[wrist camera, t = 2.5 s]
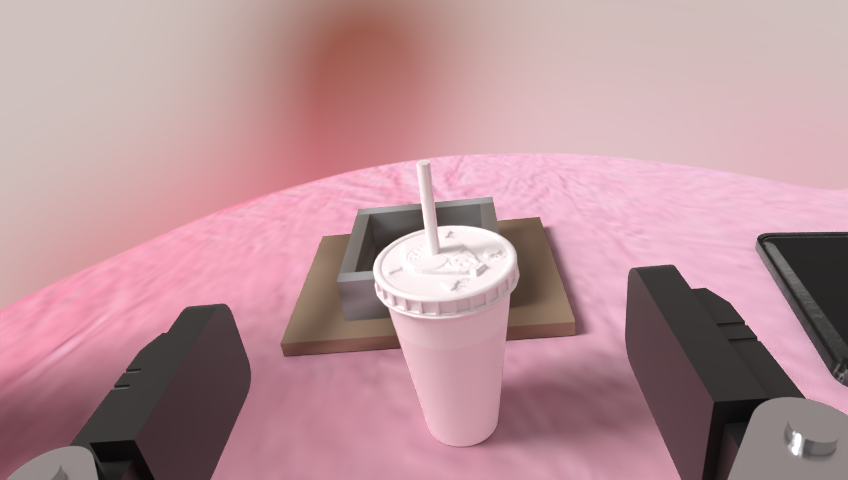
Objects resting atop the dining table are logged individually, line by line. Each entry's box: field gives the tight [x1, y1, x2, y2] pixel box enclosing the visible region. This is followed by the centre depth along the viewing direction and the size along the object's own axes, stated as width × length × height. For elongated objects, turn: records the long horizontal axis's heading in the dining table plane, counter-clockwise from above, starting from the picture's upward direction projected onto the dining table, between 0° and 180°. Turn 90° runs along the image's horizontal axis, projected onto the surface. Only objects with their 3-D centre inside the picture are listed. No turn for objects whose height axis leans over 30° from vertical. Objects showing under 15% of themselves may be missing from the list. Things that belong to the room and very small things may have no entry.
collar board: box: [281, 197, 576, 356], centre depth 40 cm, size 18×14×4 cm
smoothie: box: [373, 160, 520, 447], centre depth 26 cm, size 6×6×14 cm
